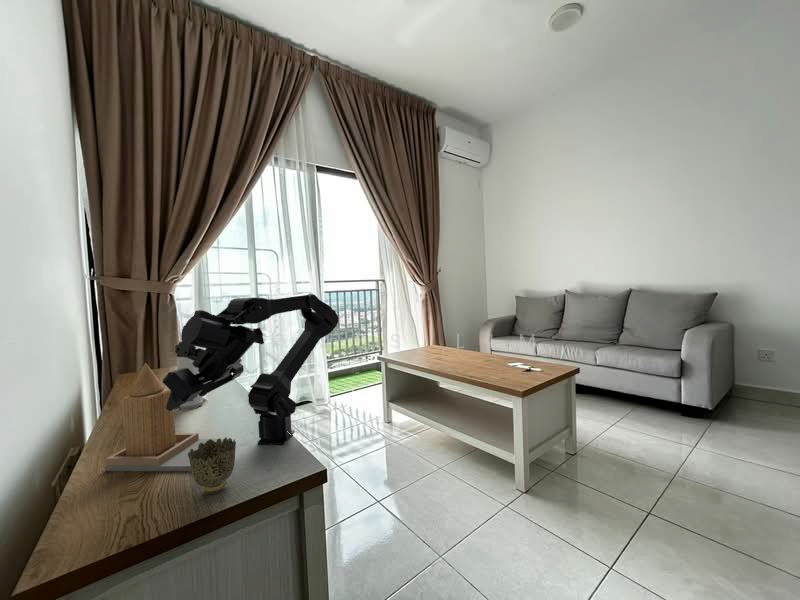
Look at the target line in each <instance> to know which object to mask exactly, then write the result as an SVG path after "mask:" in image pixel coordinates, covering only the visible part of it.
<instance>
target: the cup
mask: <svg viewBox="0 0 800 600" xmlns="http://www.w3.org/2000/svg"><path fill="white" fill-rule="evenodd" d="M208 439H209V440H208V441H207V442H206V443H205V444H203V443H199V445H198V450H195V451H194V450H193V449H190V452H189V453H188V456H189V461H190V466H191V470H192V471H191V475H192V478H193V479H194V482H195V483H196V484H197V485H199V486H200V487H203V488H202V489H203V492H204V493H205V495H215V494H219V493H220V492H222V491H224V490H225V488H226V486H227V482H228V481H227V480H228V479H229V478H230V477H231V475H232V473H233V471H234V468H235V460H236V445H237V441H236V439H232V438H231V437H229V438H227V437H225V438H223V439H224V440H223V441H221V439H222V438H220V437H219V438H216V439H217V442H214V441H213V440H210V439H211V438H208ZM228 439H229V440H228ZM231 439H232V440H231Z"/></svg>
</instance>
